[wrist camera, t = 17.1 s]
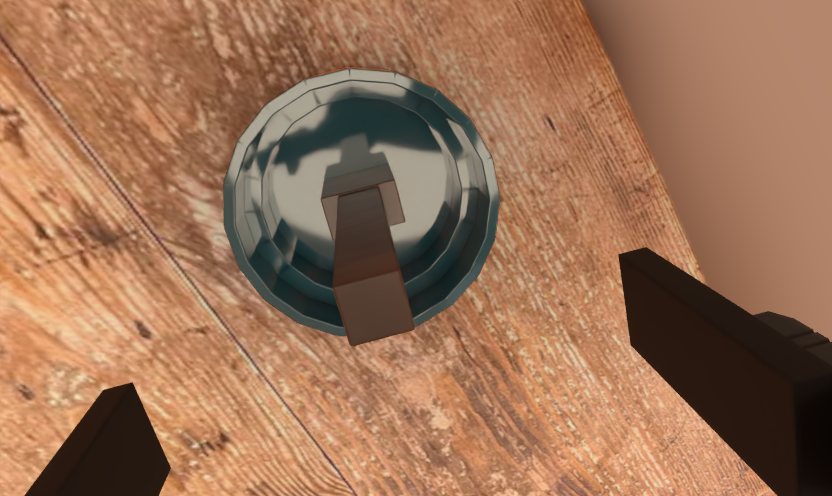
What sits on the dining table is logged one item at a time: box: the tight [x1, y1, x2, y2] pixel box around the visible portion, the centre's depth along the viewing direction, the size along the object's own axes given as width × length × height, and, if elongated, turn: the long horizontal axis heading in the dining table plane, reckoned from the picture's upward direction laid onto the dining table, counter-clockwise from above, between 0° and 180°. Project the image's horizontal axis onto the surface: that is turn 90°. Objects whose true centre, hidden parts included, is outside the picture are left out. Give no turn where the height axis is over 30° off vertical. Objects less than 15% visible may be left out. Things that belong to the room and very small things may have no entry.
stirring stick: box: [320, 164, 415, 346], centre depth 28 cm, size 4×2×18 cm, turn 104°
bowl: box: [223, 66, 500, 336], centre depth 34 cm, size 14×14×6 cm
